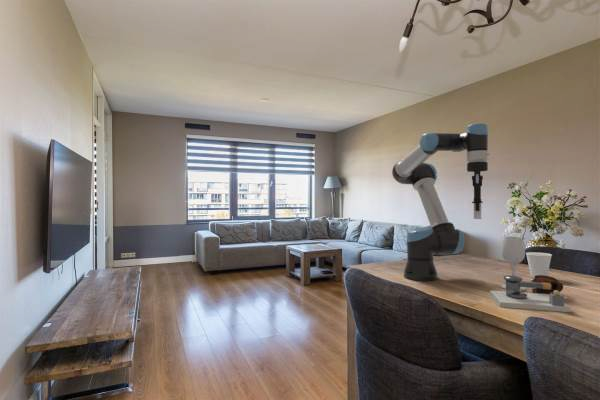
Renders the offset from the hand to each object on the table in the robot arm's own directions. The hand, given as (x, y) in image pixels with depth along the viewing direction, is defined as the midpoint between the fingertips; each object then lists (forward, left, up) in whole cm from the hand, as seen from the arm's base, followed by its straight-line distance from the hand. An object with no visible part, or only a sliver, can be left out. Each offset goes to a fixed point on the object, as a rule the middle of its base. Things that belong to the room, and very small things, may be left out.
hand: (477, 218), depth 136 cm
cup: (+30, +27, -29) cm, 50 cm away
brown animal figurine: (+23, -2, -29) cm, 37 cm away
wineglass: (+14, +4, -29) cm, 32 cm away
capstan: (+13, -15, -27) cm, 34 cm away
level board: (+13, -16, -29) cm, 35 cm away
